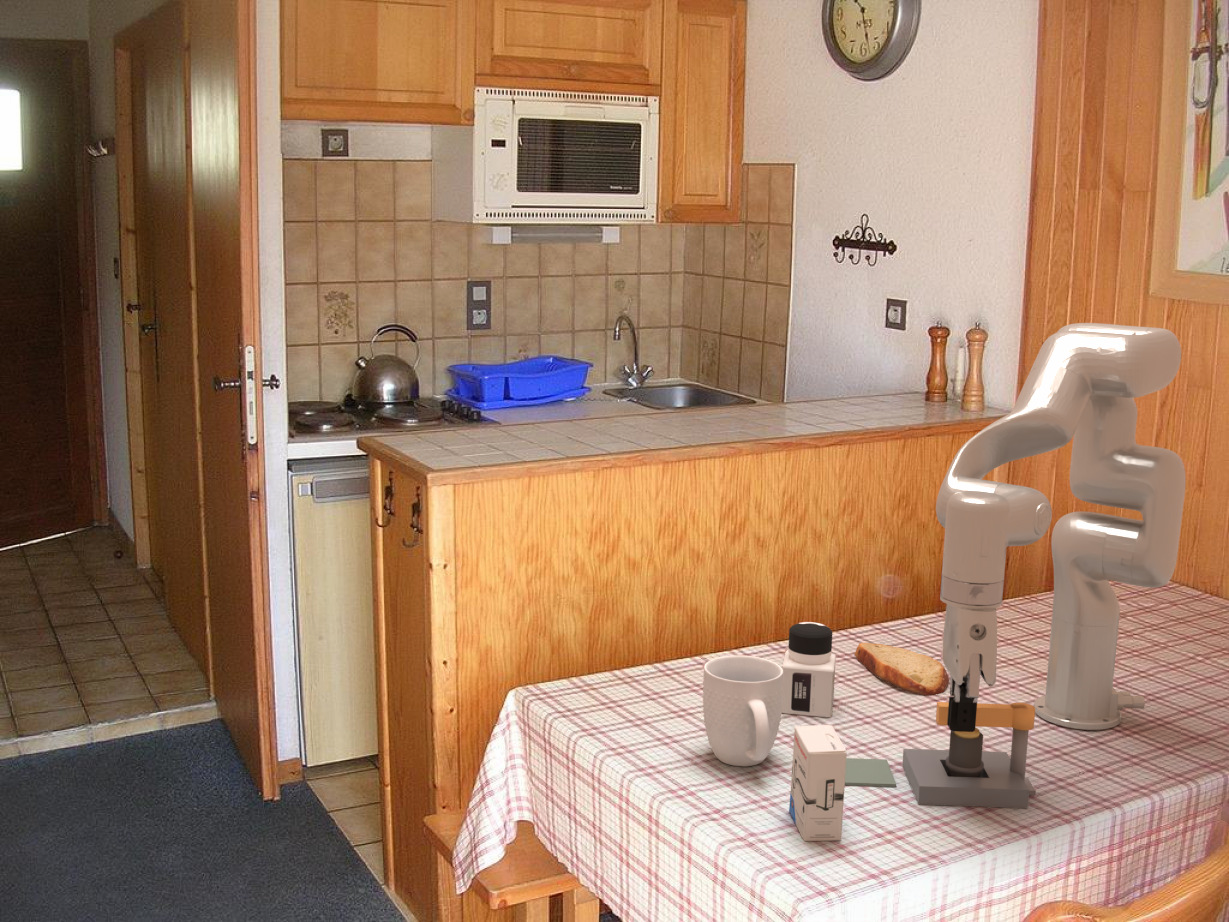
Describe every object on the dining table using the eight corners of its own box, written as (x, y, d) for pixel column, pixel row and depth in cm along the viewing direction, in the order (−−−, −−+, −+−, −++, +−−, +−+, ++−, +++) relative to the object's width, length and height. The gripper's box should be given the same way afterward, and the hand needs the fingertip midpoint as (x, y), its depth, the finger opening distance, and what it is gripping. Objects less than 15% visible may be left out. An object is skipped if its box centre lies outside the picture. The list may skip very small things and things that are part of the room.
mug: (801, 782, 176) (805, 689, 173) (722, 789, 173) (726, 695, 171) (764, 738, 190) (767, 652, 187) (691, 744, 187) (693, 657, 185)
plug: (977, 779, 178) (981, 723, 176) (985, 795, 173) (990, 737, 171) (940, 777, 178) (944, 722, 176) (948, 793, 173) (952, 736, 171)
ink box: (788, 810, 167) (791, 723, 165) (826, 809, 168) (830, 722, 166) (803, 842, 159) (807, 751, 157) (843, 841, 159) (848, 750, 157)
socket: (1019, 769, 181) (1024, 711, 179) (1043, 808, 169) (1049, 746, 167) (902, 765, 181) (906, 707, 180) (918, 804, 170) (922, 742, 168)
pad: (886, 762, 182) (886, 759, 182) (896, 787, 175) (896, 784, 175) (828, 760, 183) (828, 757, 183) (835, 784, 175) (835, 782, 175)
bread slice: (859, 650, 230) (860, 629, 230) (963, 667, 222) (964, 646, 222) (828, 681, 214) (829, 660, 214) (939, 701, 207) (940, 678, 206)
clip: (1030, 721, 175) (1031, 702, 174) (1036, 730, 172) (1038, 711, 171) (934, 718, 175) (935, 699, 175) (939, 727, 172) (940, 708, 172)
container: (831, 718, 198) (835, 635, 196) (779, 713, 200) (783, 631, 197) (833, 700, 205) (837, 620, 203) (783, 695, 207) (787, 616, 205)
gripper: (1017, 608, 157) (1005, 753, 160) (987, 575, 172) (977, 709, 175) (953, 606, 157) (943, 751, 161) (929, 573, 172) (920, 706, 175)
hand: (960, 728), depth 168 cm, fingers closed
